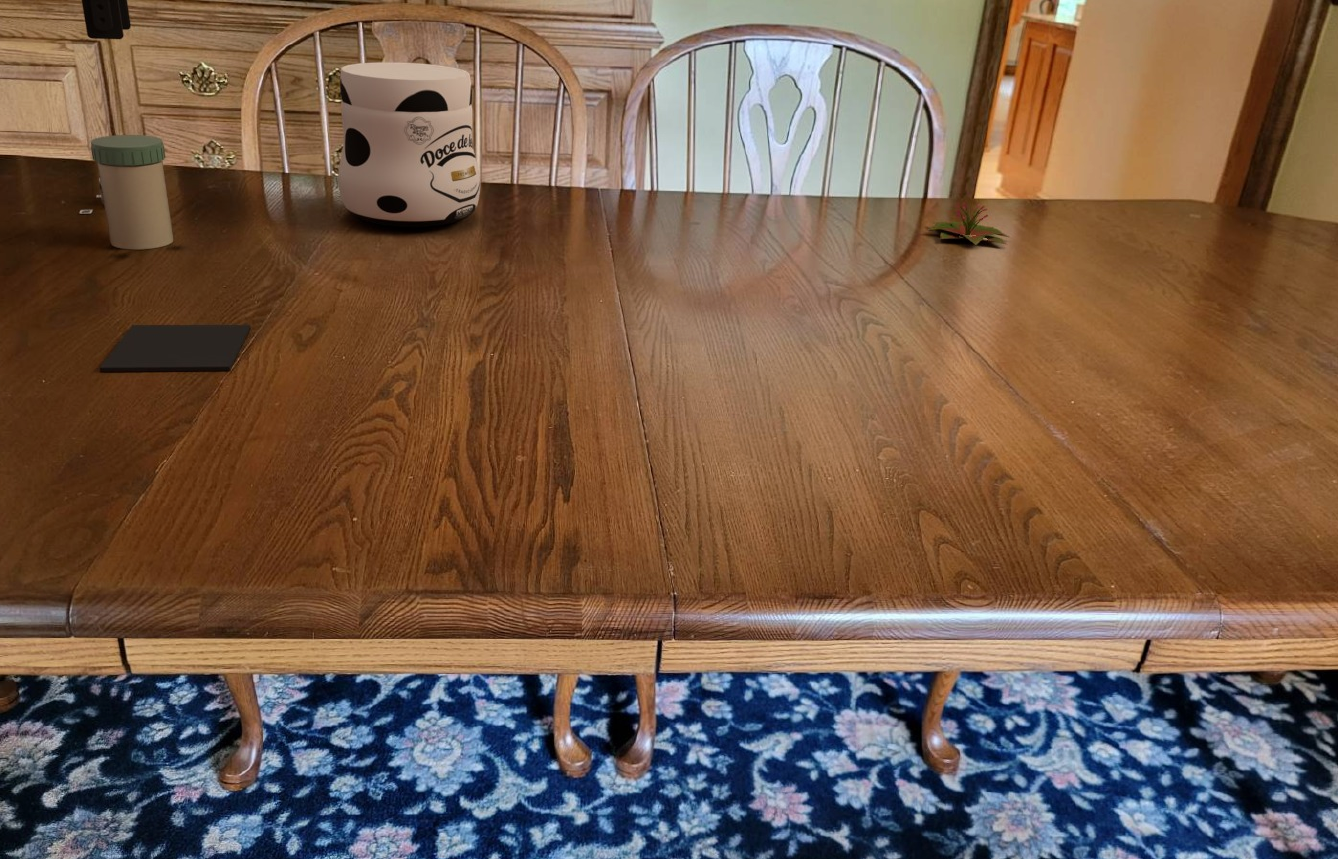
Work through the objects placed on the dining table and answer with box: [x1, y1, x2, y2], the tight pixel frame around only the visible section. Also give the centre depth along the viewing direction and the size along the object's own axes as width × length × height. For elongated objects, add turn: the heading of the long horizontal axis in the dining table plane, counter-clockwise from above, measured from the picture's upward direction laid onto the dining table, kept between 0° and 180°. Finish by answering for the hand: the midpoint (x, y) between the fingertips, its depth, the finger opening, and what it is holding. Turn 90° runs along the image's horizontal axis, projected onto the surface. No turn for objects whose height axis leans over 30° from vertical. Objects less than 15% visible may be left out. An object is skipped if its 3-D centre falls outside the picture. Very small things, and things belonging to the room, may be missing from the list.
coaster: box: [99, 324, 251, 373], centre depth 91 cm, size 10×10×1 cm
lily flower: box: [925, 202, 1010, 246], centre depth 143 cm, size 12×12×5 cm
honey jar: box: [96, 160, 174, 251], centre depth 116 cm, size 6×6×11 cm
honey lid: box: [90, 134, 166, 166], centre depth 114 cm, size 7×7×2 cm
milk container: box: [337, 61, 481, 228], centre depth 130 cm, size 17×17×18 cm
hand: (110, 32), depth 109 cm, fingers open, 8 cm apart
